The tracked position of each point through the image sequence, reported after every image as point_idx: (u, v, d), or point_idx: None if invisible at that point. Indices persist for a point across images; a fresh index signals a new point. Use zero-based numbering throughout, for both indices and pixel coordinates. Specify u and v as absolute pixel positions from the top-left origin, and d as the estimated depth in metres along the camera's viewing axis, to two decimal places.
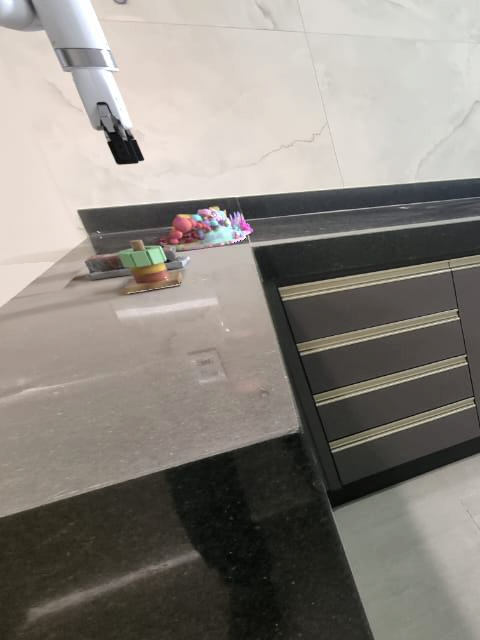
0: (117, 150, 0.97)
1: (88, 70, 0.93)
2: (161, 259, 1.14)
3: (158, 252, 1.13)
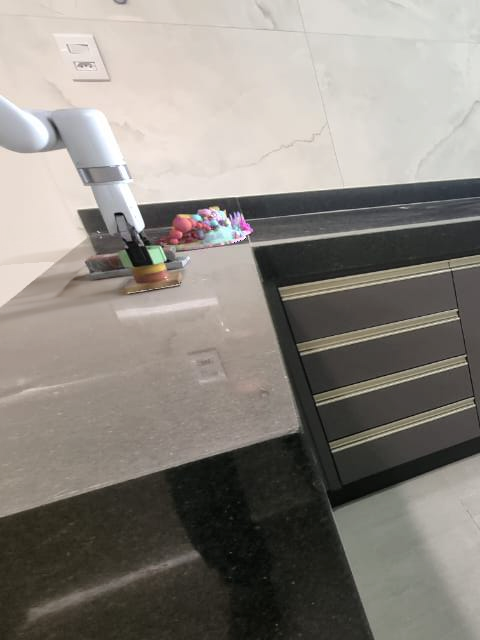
0: (134, 255, 1.09)
1: (106, 186, 1.04)
2: (161, 259, 1.14)
3: (158, 252, 1.13)
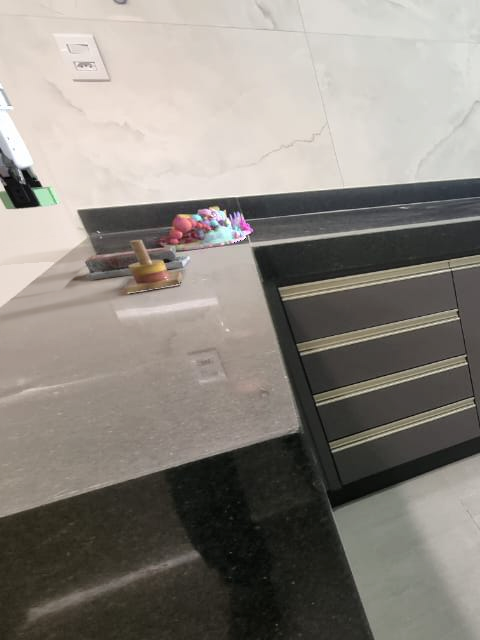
0: (14, 194, 0.96)
1: None
2: (51, 201, 1.01)
3: (47, 193, 1.00)
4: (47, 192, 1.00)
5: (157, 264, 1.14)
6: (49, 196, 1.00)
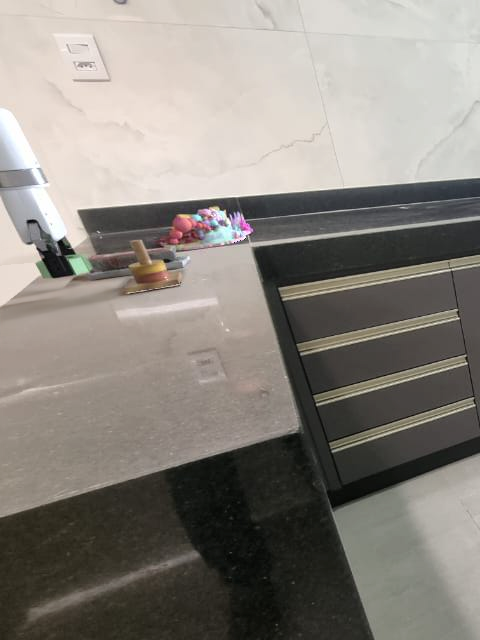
0: (52, 266, 1.01)
1: (16, 191, 0.96)
2: (85, 269, 1.06)
3: (81, 261, 1.05)
4: (81, 261, 1.06)
5: (157, 264, 1.14)
6: (83, 264, 1.06)
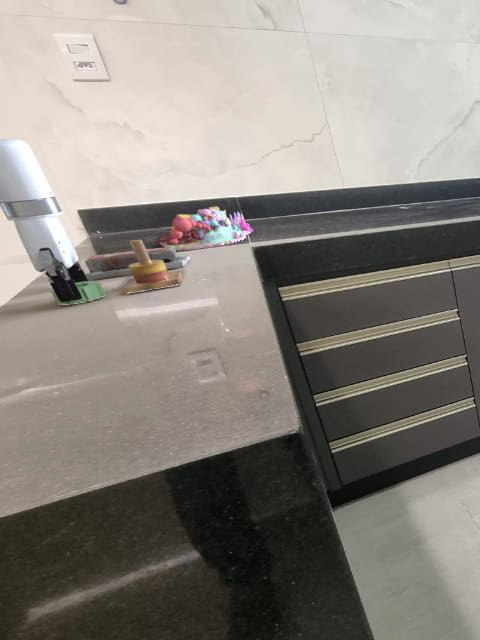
0: (60, 290, 1.02)
1: (31, 220, 0.98)
2: (99, 296, 1.09)
3: (95, 289, 1.08)
4: (95, 288, 1.08)
5: (157, 264, 1.14)
6: (97, 291, 1.08)
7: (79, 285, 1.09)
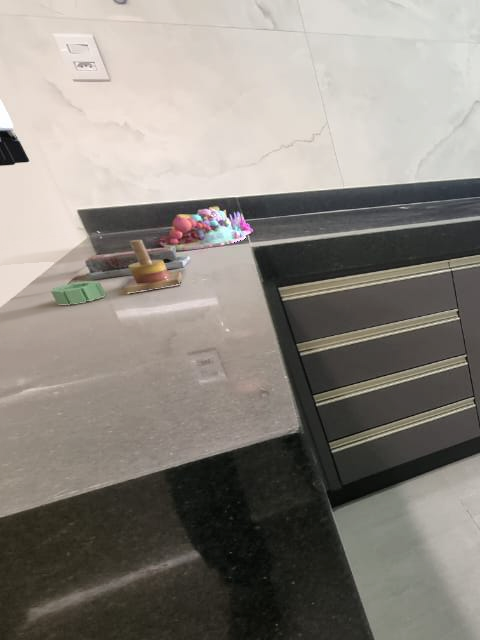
0: None
1: None
2: (99, 296, 1.09)
3: (95, 289, 1.08)
4: (95, 288, 1.08)
5: (157, 264, 1.14)
6: (97, 291, 1.08)
7: (79, 285, 1.09)
